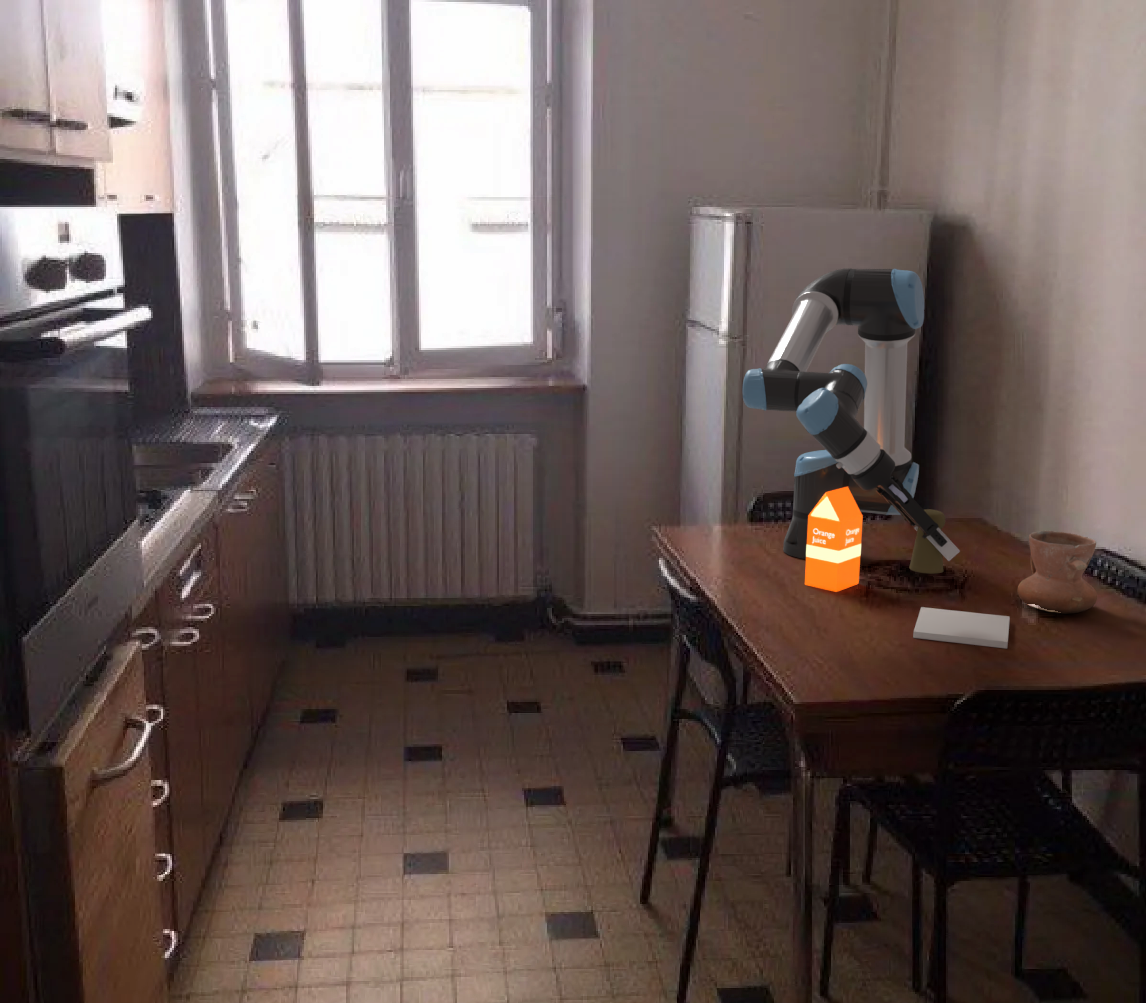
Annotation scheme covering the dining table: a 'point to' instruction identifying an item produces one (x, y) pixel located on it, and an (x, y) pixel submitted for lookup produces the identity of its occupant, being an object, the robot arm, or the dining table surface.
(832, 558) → the orange juice
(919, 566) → the cork
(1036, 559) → the ceramic jug
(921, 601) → the dining table surface
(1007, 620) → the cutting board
